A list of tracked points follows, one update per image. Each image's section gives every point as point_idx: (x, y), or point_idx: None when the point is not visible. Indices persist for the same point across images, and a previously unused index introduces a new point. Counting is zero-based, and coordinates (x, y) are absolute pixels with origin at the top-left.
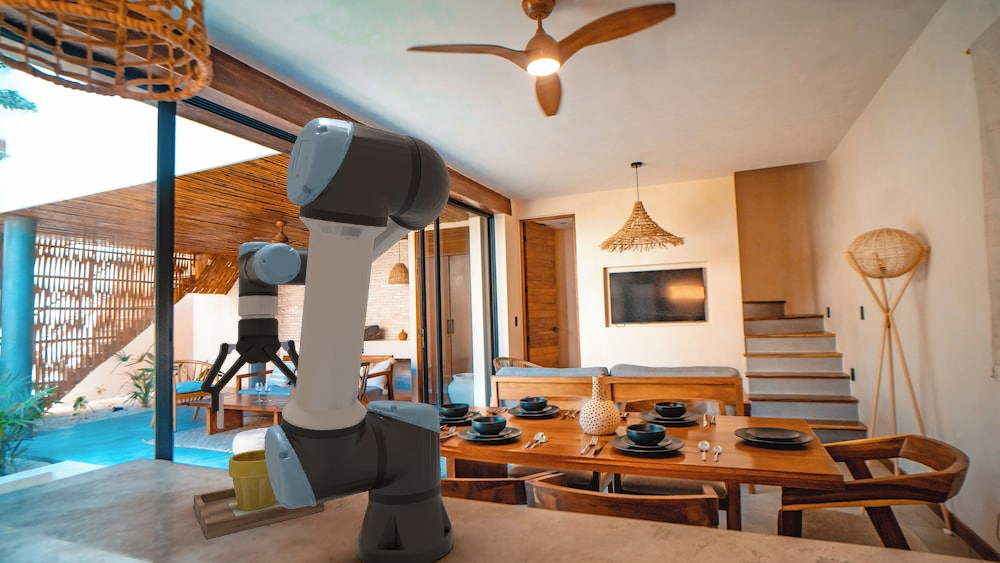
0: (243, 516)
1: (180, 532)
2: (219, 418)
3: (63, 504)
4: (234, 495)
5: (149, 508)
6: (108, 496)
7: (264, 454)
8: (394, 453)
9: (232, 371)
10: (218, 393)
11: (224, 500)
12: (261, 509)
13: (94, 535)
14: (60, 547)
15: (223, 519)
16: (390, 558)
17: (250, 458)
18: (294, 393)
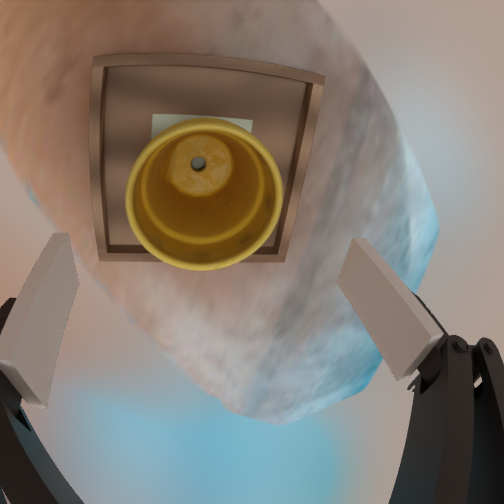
0: (263, 62)
1: (331, 143)
2: (384, 262)
3: (360, 348)
4: None
5: (319, 287)
6: (327, 353)
7: (170, 250)
8: None
9: (461, 453)
10: (439, 347)
11: None
12: None
13: (392, 225)
14: (419, 211)
15: (296, 77)
16: None
17: (205, 253)
18: (16, 325)
